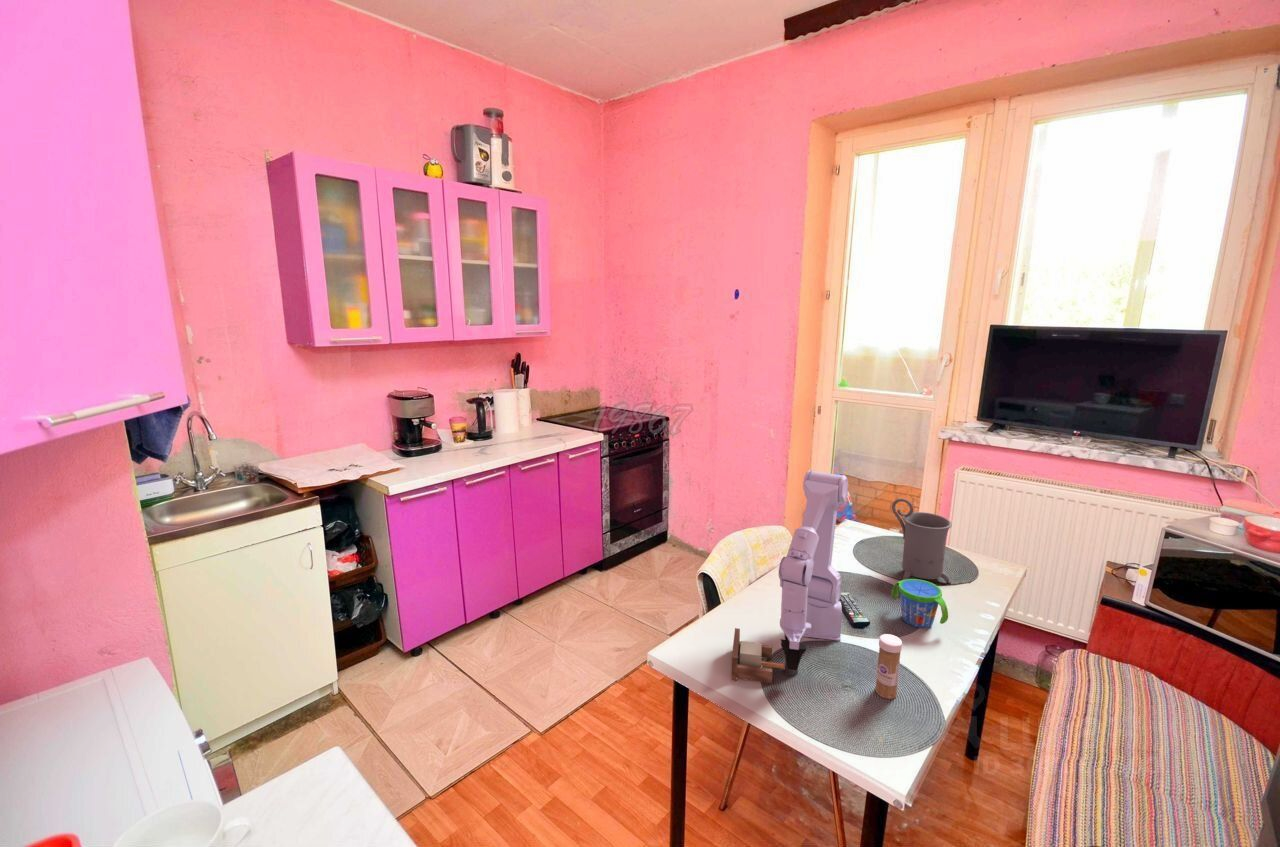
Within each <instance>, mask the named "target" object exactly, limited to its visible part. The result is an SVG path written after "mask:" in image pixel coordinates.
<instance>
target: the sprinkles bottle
mask: <svg viewBox="0 0 1280 847" xmlns="http://www.w3.org/2000/svg"><path fill="white" fill-rule="evenodd" d="M878 647H879V649H878V660H877V665H876V666H877V667H876V682H875V683H876V684H875V687H874V690H875V692H876V694H877V695H878V696H880V697H881V698H884V699H888V700H892V699H895V698H896V697H897V696H898V692H897V690H898V683H899V674H900V673H899V672H900V663H901V662H900V659H901V651H902V649H903V642H902V640H901V639H900V638H899V637H898V636H896V635H893V634H890V633H889V634H888V633H884V634H881V635H880V636H879V640H878Z"/></svg>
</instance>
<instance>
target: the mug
mask: <svg viewBox="0 0 1280 847" xmlns="http://www.w3.org/2000/svg"><path fill="white" fill-rule="evenodd" d="M900 502H903V503H905V504H907V505H908V506H909V512H906V513H903V512H902V511H901V509H899V508H898V509H897V510H896V505H897V504H898V503H900ZM891 508H892V509H891V510H892V513H893V514H894V516H895V517H896V519H897V520H898V522H899V524H900V526H901V530H902V534H903V535H902V536H903V537H902V539H903V542H904V543H903V550H902V551H903V552H902V553H903V554H902V561H901V562H902V565H901V568H902V570H903V571H904V574H903V578H902V580H906V579H910V577H911V576H913V577H915V578H918V579H919V578H920V579H923V580H924V579H926V580H935V579H939V578H942V579H943V580H944V581H945V582H946V583H947V584H950V585H951V584H952V581H950V577H949V575H948V574H947V573H946V572H945V571H944V564H945V554H946V553H945V552H946V544H947V536H948V532H949V530H950V529H951V528H952V526H953V523H952V522H951V520H949V519H948V518H946V517H944V516H941V515H938V514H936V513H935V514H934V513H929V512H925V511H914V506H913V503H912V502H911V501H910V500H908V499H906V498H896V499H895V500H893V502H892V504H891ZM901 517H902V518H901Z"/></svg>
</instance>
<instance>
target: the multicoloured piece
mask: <svg viewBox="0 0 1280 847" xmlns="http://www.w3.org/2000/svg"><path fill="white" fill-rule="evenodd" d="M740 641H741V647H740V655H739V664H740V665H748V666H755V667H767V668H777V669H784V673H785V674H786V675H787V676H790V677H795V676H797V675H798V673H799V672H798V671H799V667H798V668H797V670H790V669H788V668H787V664H786V657H785V656H784V663H778V662H771V661H770V662H769V661H763V660H762V658H761V654H762V644H763V643H761V642H753V641H747V640H746V641H745V640H740Z"/></svg>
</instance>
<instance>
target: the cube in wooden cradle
mask: <svg viewBox="0 0 1280 847" xmlns="http://www.w3.org/2000/svg"><path fill="white" fill-rule="evenodd" d="M733 633H734V634H733V644H732V645H733V646H732V653H731V654H732V655H731V675H730V676H731V679H730V680H731V681H735V682H736V681H737V680H743V681H749V682H750V681H751V682H758V683H764V682H765V684H772V683H773V668H771V667H764V666H761V667H755V666H748V665H740V663H739V661H740V647H741V641H742V640H741V639H740V636H741V629H740V628H736V627H735V628H734V632H733ZM772 657H773V645H772V644H765V643H762V654H761V659H762V658H763V659H770V660H772V659H773V658H772Z"/></svg>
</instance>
